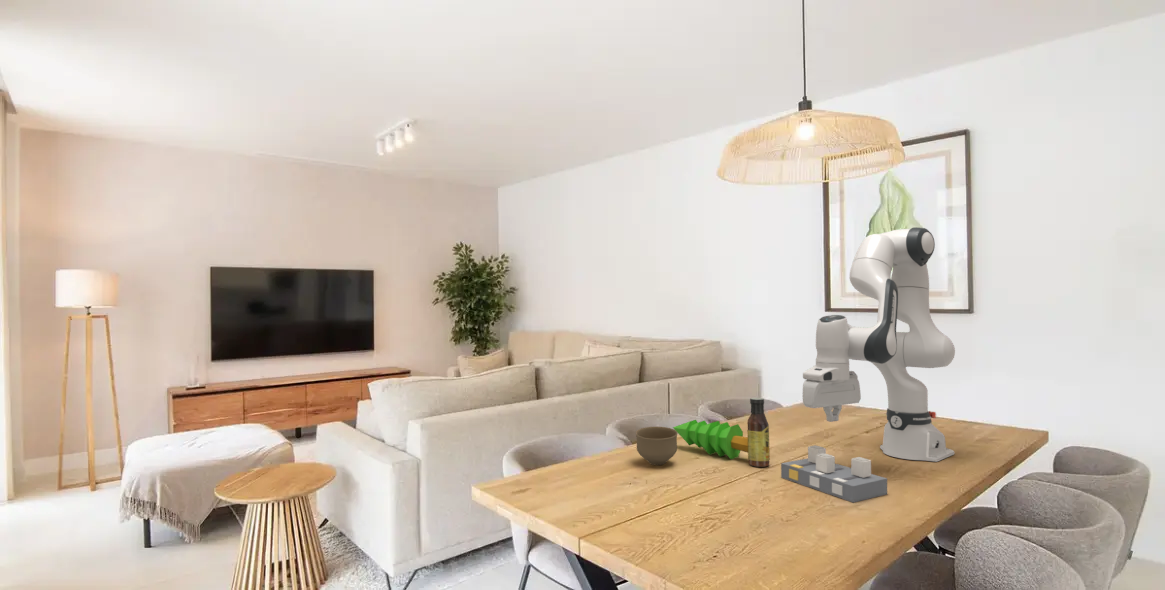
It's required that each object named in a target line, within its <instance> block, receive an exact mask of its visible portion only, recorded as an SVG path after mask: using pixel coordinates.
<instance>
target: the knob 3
mask: <svg viewBox="0 0 1165 590" xmlns="http://www.w3.org/2000/svg"><path fill="white" fill-rule="evenodd" d="M850 460H851V461H850V463H851V466H850V468H851V474H852V475H856V476H859V477H862V478H865V477H869V476H871V474H872V460H871V459H868V458H866V457H865V458H864V457H861V456H857V457H852V458H850Z"/></svg>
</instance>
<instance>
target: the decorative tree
mask: <svg viewBox="0 0 1165 590" xmlns="http://www.w3.org/2000/svg"><path fill="white" fill-rule="evenodd" d="M672 429H674V430H676V431H677V433H678V434H677V435H679V436H680V437H681V438H682V439H683V440H684V442H685V443H686V444H687V445H689V446H691V445H695V446H697V447H698V448H703V450H704V451H705V452H706V453H707V454H708V455H709V456H711V455H713V454H717V455H718V456H719V457H720V458H721V457H723V456H727V457H728V459H730V460H733V459H736V458H739V455H740V453H741V452H745V453H747V454H748V436H747V437H746V436H743V435H744V431H743V430H742V428H741V426H740V424H739V423H737V424H734V425H731V426H730V423H729V422H728V421H726V422H723V423H720V420H718V421H717V420H716V421H713V422H710V423H709V422H708V423H707V421H706V420H702V421H698V420H697V419H693V420H689V421H686V422H685V423H681V424H678V425H675V426H673V427H672Z"/></svg>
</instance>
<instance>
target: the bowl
mask: <svg viewBox="0 0 1165 590" xmlns="http://www.w3.org/2000/svg"><path fill="white" fill-rule="evenodd" d="M678 435H679V434H678V433H677V431H676V430H675V429H674V428H670V427H667V426H666V427H665V426H646V427H642V428H639V429H637V430H636V431H635V437H636V450H637V452H638V455H640V456H641V458H642V459H644V460H646V461H647V462H648V463H649V464H650V465H652V466H662V465H665V464H666V463H667V462H668V461H669V460H671V459H672V458H673V457H674V456H675V454H676V453H677V451H678Z"/></svg>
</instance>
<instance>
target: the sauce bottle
mask: <svg viewBox="0 0 1165 590" xmlns="http://www.w3.org/2000/svg"><path fill="white" fill-rule="evenodd" d="M749 402H750V403H749V404H750V416H749V417H748V419H747V437H748V453H747V459H748V464H749V465H750V466H752V467H756V468H765V467H768V466H770V460H771V456H770V455H771V454H770V452H771V451H770V449H771V448H770V425H769V423H768V420H767V417H766V413H765V405H764V404H765V398H763V397H751V398H750V399H749Z"/></svg>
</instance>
